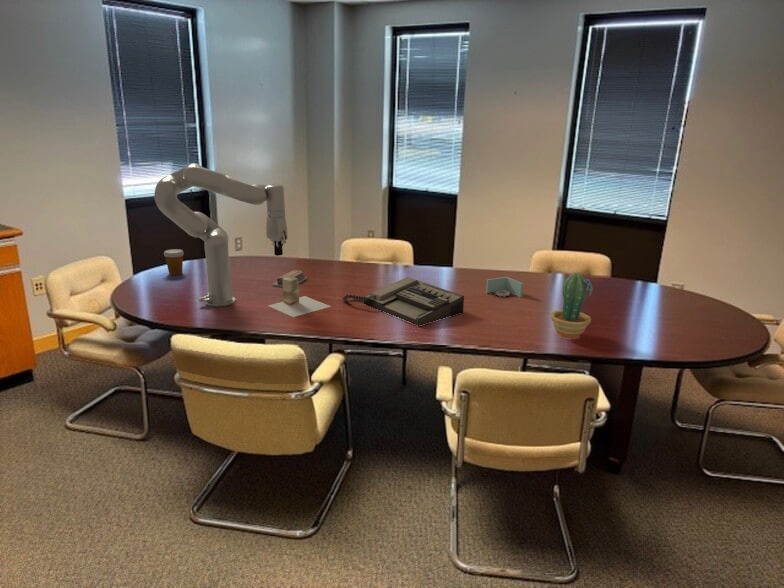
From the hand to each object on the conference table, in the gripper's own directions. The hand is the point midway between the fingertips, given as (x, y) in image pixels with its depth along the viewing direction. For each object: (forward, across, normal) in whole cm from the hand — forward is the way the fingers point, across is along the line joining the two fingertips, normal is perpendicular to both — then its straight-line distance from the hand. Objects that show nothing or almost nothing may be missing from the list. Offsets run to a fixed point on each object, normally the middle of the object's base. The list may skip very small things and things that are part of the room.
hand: (278, 254), depth 247 cm
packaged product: (+21, -18, +18) cm, 33 cm away
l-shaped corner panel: (+23, +64, +82) cm, 107 cm away
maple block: (+20, +9, -1) cm, 22 cm away
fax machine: (+22, +43, +32) cm, 58 cm away
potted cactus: (+22, +111, +58) cm, 127 cm away
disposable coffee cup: (+20, -69, -18) cm, 74 cm away
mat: (+21, +15, -1) cm, 25 cm away
